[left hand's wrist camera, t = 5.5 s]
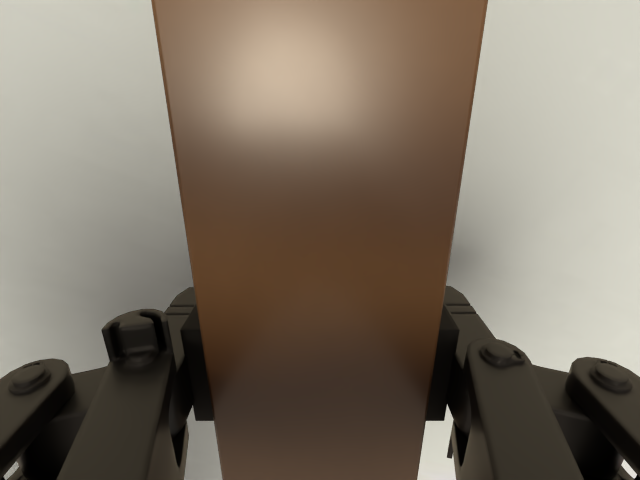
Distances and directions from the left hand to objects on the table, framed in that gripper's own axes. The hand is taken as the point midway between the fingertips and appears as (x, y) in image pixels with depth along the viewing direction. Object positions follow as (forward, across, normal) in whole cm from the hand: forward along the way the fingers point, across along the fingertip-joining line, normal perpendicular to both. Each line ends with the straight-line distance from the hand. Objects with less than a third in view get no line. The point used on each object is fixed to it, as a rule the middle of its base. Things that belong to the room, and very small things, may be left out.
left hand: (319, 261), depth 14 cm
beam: (+1, 0, -21) cm, 21 cm away
